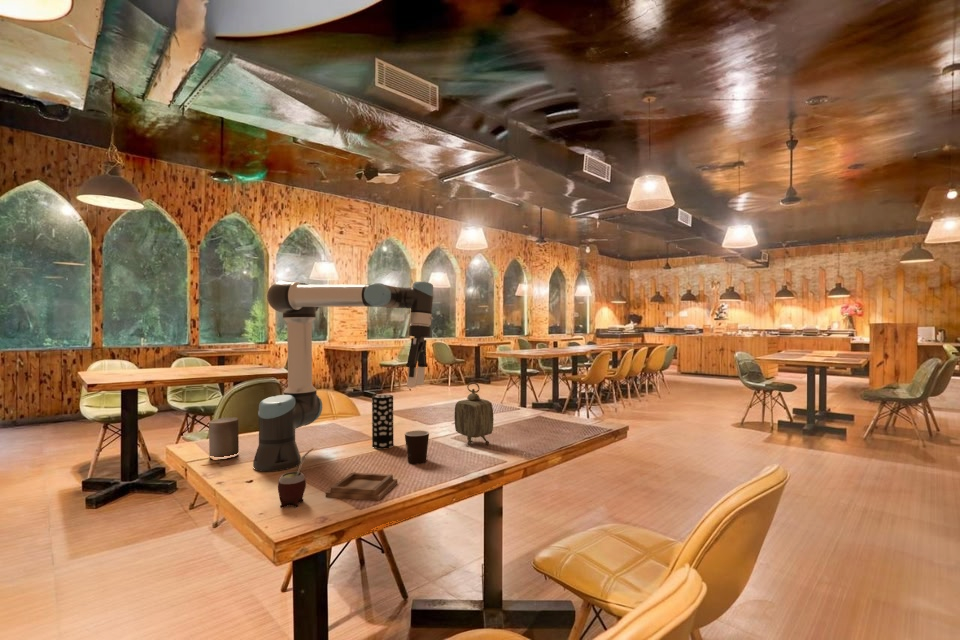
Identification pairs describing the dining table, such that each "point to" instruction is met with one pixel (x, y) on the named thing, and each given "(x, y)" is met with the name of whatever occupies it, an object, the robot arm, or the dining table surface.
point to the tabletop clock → (474, 416)
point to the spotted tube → (382, 421)
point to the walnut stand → (362, 486)
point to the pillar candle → (223, 437)
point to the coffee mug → (416, 446)
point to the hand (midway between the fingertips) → (415, 386)
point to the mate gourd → (292, 487)
